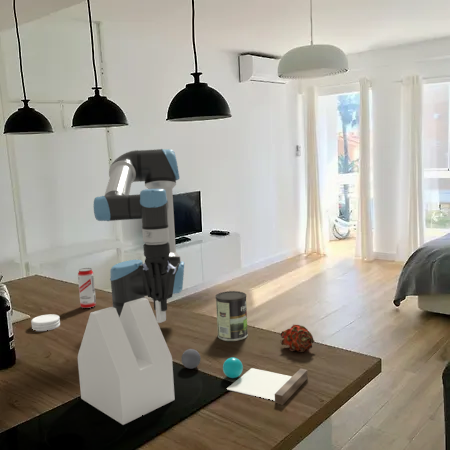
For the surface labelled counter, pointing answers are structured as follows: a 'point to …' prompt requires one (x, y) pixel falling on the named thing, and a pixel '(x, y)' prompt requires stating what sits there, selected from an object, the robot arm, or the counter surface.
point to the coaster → (45, 322)
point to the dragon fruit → (297, 338)
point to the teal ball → (232, 367)
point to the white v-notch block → (125, 362)
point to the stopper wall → (291, 386)
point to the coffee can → (231, 315)
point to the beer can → (86, 288)
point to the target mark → (259, 383)
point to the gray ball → (191, 358)
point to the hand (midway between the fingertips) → (161, 321)
